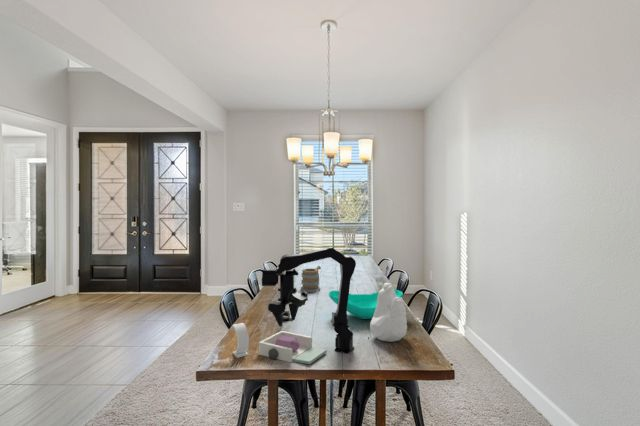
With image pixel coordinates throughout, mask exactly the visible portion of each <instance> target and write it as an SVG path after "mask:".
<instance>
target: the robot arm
mask: <svg viewBox="0 0 640 426" xmlns="http://www.w3.org/2000/svg"><path fill="white" fill-rule="evenodd" d="M329 258H331V259H332V260H334V261H335V262H337V263H338V264H339V269H340V284H339V290H338V291H339V297H338V305H337V304H336V305H337V307H336V310H335V312H334V311H333V312H331V320H330V322H331V325H332V327H333V329H334V331H335V333H337V334H336V335H335V336H336V337H335V340H334V341H335V342H334V343H335V348H334V349H333V350H334V351H335V352H336V351H337V352H340V353H345V354H349V353H350V352H351V351H353V350H354V349H355V346H354V342H353V341H354V332H353V331H352V329H351V327H350V326H349V325H348V322H349V321H348V311H347V304H348V296H349V294H350V287H351V280H352V277H353V275H354V273H355V269H356V266H357V262H356V260H355V258H353V257H352V256H351V255H348V254H343V253H342V252H340V251H339V250H336V249H335V247H332V246H328V247H325V248H320V249H317V250H311V251H308V252H305V253H304V252H303V253H299V254H298V253H296V254H295V253H294V254H293V253H289V254H287V253H286V254H284V255H282V256H281V257H280V260H279V264H278V265H277V266H276V268H275V269H264V268H263V269H262V274H261V275H262V277H261V287H276V286H277V285H278V284H279V288H277V291H278V292H279V298H277V301H272V302H270V303H269V304H268V305H267V310H268V311H269V312H271V313H272V315H273V316H274V317H273V318H274V319H275V321H276V322H277V324H278V326H279V327H280V328H281V327H282V326H283V322H284V321H283V317H284V316H283V314H284V313H285V312H286V311H287V310H286V309H287V308H286V307H287V306H288V309H289V313H290V318H292V320H293V321H295V320H296V318H297V317H296V316H297V313H298V311H299V308H301V307H302V306H305V304H306V301H308V300H309V299H308V298H309V297H308V296H309V295H308V292H303V291H301V292H298V291H297V287H295V276H299V272H298V271H297V270H296V268H298V267H300V266H301V265H305V264H308V263H312V262H316V261H321V260H324V259H329Z"/></svg>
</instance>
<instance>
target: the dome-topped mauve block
mask: <svg viewBox="0 0 640 426" xmlns="http://www.w3.org/2000/svg"><path fill="white" fill-rule="evenodd" d="M275 344H276V345H278V346H283V347H287V348H291V349H292V352H293V351H296V350H298V348H299V343H298V341H297V338H291V337H286V336H283V337H279V338H278V339H277V340H276V342H275Z"/></svg>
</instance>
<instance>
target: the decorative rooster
mask: <svg viewBox="0 0 640 426" xmlns="http://www.w3.org/2000/svg"><path fill="white" fill-rule="evenodd" d="M394 290H395V288H394V286H393V285H392V283H390V282H384V284H383V285H382V288H381V289H380V290H378V292H379V293H378V298H377V306H376V310H375V312H374V316H373V318H372V319H370V323H369V324H370V325H369V329H370V330H369V331H370V333H371V334H372V335H373V337H375V338H377V339H378V340H380V341H382V342H390V343H394V342H398V341H400V340H401V339H403V337H405V336H406V334H407V330H408V325H407V323H408V318H407V308H406V307H405V302H404V299H403V297H402V298H400V297H397V296H396V293H395V291H394Z"/></svg>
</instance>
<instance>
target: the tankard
mask: <svg viewBox="0 0 640 426" xmlns="http://www.w3.org/2000/svg"><path fill="white" fill-rule="evenodd" d="M321 268H322V267H321V266H320V265H317V266H316V267H315V268H304V269H302V272H301V279H302V280H301V285H302V286H300V291H301V292H307V293H317V292H319V291H321V288H320V287H319V285H320V273H319V270H321Z"/></svg>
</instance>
